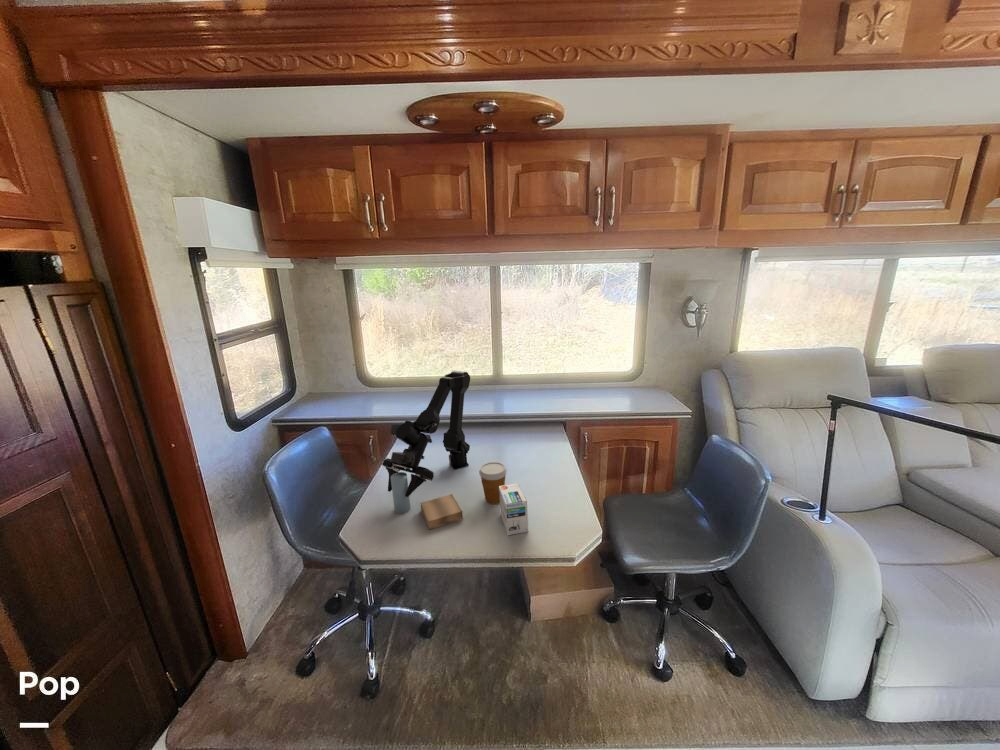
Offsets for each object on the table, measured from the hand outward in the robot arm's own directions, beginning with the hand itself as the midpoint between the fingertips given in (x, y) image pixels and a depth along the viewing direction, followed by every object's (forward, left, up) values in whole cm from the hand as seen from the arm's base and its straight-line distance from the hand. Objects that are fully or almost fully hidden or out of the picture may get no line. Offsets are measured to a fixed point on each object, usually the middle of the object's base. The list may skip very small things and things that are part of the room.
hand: (397, 494), depth 124 cm
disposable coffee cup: (-31, +9, -7) cm, 33 cm away
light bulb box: (-31, +24, -7) cm, 40 cm away
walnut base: (-12, +9, -7) cm, 16 cm away
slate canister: (-1, -1, -7) cm, 7 cm away
